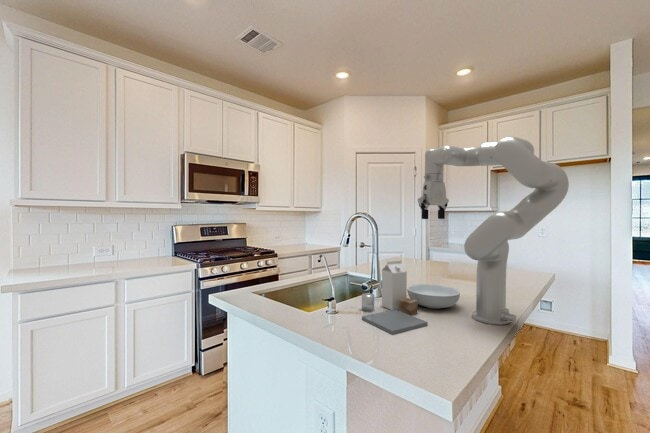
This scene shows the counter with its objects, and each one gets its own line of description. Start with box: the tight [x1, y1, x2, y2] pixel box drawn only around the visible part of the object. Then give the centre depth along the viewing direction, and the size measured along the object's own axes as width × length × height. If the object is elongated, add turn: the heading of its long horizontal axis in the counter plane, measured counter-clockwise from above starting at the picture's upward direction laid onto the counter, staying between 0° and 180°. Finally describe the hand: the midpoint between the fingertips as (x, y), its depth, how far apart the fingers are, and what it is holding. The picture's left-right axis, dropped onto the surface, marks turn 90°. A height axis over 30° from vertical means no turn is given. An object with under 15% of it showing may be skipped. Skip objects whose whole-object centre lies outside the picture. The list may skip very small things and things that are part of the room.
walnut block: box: [398, 297, 419, 316], centre depth 121 cm, size 5×5×5 cm
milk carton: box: [381, 260, 408, 311], centre depth 128 cm, size 7×7×19 cm
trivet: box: [361, 309, 429, 336], centre depth 111 cm, size 16×16×1 cm
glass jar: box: [361, 292, 375, 313], centre depth 125 cm, size 5×5×6 cm
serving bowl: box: [407, 283, 461, 310], centre depth 131 cm, size 21×21×7 cm
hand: (433, 218), depth 134 cm, fingers open, 9 cm apart
